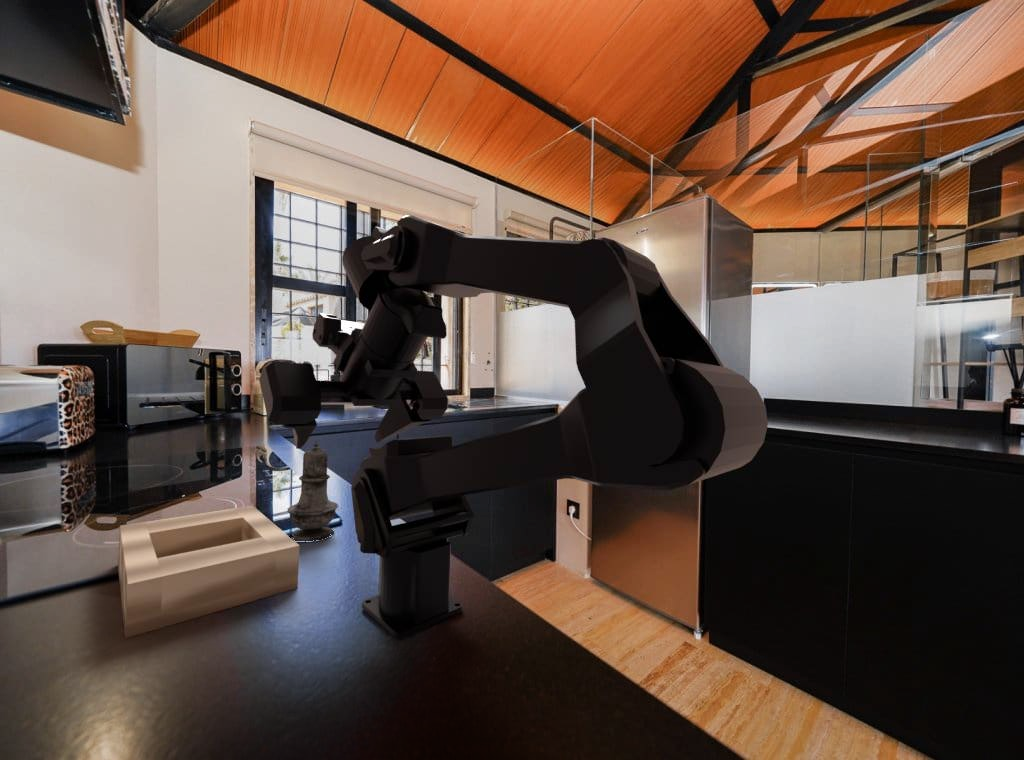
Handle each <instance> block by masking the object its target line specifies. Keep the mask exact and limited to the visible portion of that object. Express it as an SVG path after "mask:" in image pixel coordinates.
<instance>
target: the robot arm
mask: <svg viewBox="0 0 1024 760" xmlns="http://www.w3.org/2000/svg"><path fill="white" fill-rule="evenodd" d="M396 223H397V225H395V226H392V227H391V228H389V229H385V228H383V227H379V226H375V227H374V228H373V231H372V233H371V235H366V236H362V237H359V238H357V239H355V240H354V241H352V242H351V243H350V244H349V245H348V246H347V247H345V248H344V250H343V252H342V257H341V258H342V259H341V260H342V261H341V263H342V266H343V269H344V272H345V273H346V276H347V277H348V280H349V281H350V284H351V286H352V289H353V291H354V293H355V295H356V297H357V299H358V301H359V304H360V305H361V306H362V307H364V308H365V309H367V310H369V311H370V312H369V314H368V315H367V319H366V320H365V322H358V321H351V320H345V319H340V318H338V316H337V315H335V314H329V313H322V312H319V314H318V315H317V318H316V320H315V323H314V325H313V330H312V339H313V341H314V342H315V343H316V345H317V346H318V347H320V348H327V349H328V350H331V351H332V352H333V353H334V355H335V358H334V361H333V362H332V364H333V366H334V369H335V371H336V372H340V373H341V375H340V377H339V380H317V378H316V375H315V373H314V369H313V365H312V364H311V363H302V362H301V363H299V362H284V361H268V363H266V364H265V365H264V366H263V367H262V369H261V372H260V375H259V379H258V381H259V385H260V389H261V394H262V399H263V404H264V407H265V411H266V412H265V413H266V417H267V420H268V421H269V422H270V423H273V424H274V425H281V426H282V427H283V428H285V429H292V433H293V439H294V440H293V441H294V446H295V448H296V450H300V449H302V448H303V447H304V446H305V444H306V443H307V442H308V440H309V439H310V437H311V436H312V434H313V433H314V430H315V429H316V428H317V426H318V424H317V419H318V418H319V416H320V413H321V411H322V406H323V405H324V406H326V405H328V406H329V405H333V406H335V405H337V406H339V405H346V406H347V405H352V406H353V407H388V408H387V410H386V412H385V413H384V415H383V417H382V420H381V421H380V423H379V425H378V426H377V429H376V431H375V434H374V439H375V442H376V443H377V444H379V443H380V444H381V443H383V442H384V441H387V440H389V439H391V438H393V437H396V436H397V435H399V434H401V433H404V432H406V431H409V430H410V429H412V428H415V427H418V426H420V425H422V424H423V425H424V424H427V423H430V422H431V421H432V420H441V419H442V417H443V416H444V415H445V413H446V412H447V410H448V408H449V404H450V403H449V400H450V399H449V397H448V396H447V394H446V392H445V389H444V388H443V386H442V384H441V382H440V381H439V379H438V377H437V376H436V375H437V374H436V373H435V371H431V370H430V371H429V370H418V369H417V366H416V364H415V361H416V359H417V357H418V355H419V353H420V351H421V350H422V348H423V346H424V344H425V343H426V341H427V339H428V338H434V339H442V340H444V339H446V337H447V324H446V323H445V321H444V317H443V308H442V307H441V306H436V305H435V304H434V302H433V300H432V299H431V296H429V294H427V293H430V294H434V295H439V296H443V297H449V298H453V299H461V298H476V297H478V296H479V295H480V294H489V293H492V294H498V295H502V296H508V297H512V298H518V299H522V300H527V301H533V302H537V303H538V302H539V303H542V304H548V305H553V306H558V307H564V308H568V309H569V311H570V313H571V316H572V317H573V321H574V338H575V339H574V341H575V365H576V367H577V370H578V374H579V375H580V377H581V379H582V382H583V383H584V388H583V389H581V390H579V391H578V392H577V394H575V396H574V397H572V399H571V400H570V401H569V402H568V403H567V404H566V405H565V406H564V407H563V409H561V411H560V412H558V413H556V414H554V415H552V416H549V417H545V418H541V419H538V420H536V421H532V422H529V423H525V424H522V425H520V426H519V425H518V426H516V427H513V428H510V429H506V430H503V431H502V430H501V431H499V432H496V433H493V434H490V435H486V436H483V437H478V438H475V439H473V440H470V441H469V440H468V441H466V442H463V443H460V444H456V445H453V436H452V435H440V436H425V437H424V436H423V437H411V438H397V439H393V440H392V439H391V440H390V441H388V442H386V443H384V444H383V445H382V446H381V445H380V446H379V445H378V446H370V447H369V449H368V451H369V453H370V455H367V456H366V457H364V459H363V460H362V461H361V462H360V464H359V470H357V471H356V472H355V473H354V476H353V479H352V484H351V486H350V491H351V499H352V501H351V502H352V508H353V518H354V526H355V527H354V528H355V534H356V538H357V539H356V540H357V543H359V545H360V546H359V551H360V552H361V553H363V554H372V555H375V554H376V555H377V556H379V569H378V572H379V573H378V595H375V596H372V597H368V598H366V599H363V600H362V601H361V608H362V609H363V611H365V612H366V613H367V614H368V615H369V616H370V617H372V618H373V619H374V620H375V621H376V622H377V623H378V624H380V625H381V626H382V628H384V629H385V630H386V631H387V632H388V633H389V634H390V635H392V636H393V637H395V638H396V639H402V638H404V637H407V636H409V635H412V634H414V633H416V632H419V631H420V630H423V629H426V628H428V627H429V626H432V625H434V624H437V623H439V622H441V621H443V620H445V619H448V618H450V617H452V616H455V615H457V614H458V613H461V612H463V610H464V603H463V602H462V601H460V600H458V599H457V598H456V597H453V596H452V595H450V584H451V583H450V581H451V556H452V555H451V552H452V548H451V547H452V543H451V542H450V541H449V540H450V539H453V538H456V537H458V536H466V535H469V534H470V532H471V527H472V524H473V521H474V512H473V510H472V507H471V506H470V503H469V502H468V499H467V497H466V495H472V494H480V493H483V492H491V491H496V490H497V491H498V490H503V489H508V488H516V487H521V486H528V485H533V484H538V483H545V482H546V483H547V482H551V481H558V480H564V479H565V480H567V479H569V480H577V481H581V482H584V483H588V484H592V485H595V486H599V487H605V488H606V487H609V488H619V489H621V488H622V489H632V490H633V489H635V490H649V491H657V492H658V491H659V492H660V491H671V490H674V489H675V490H676V489H678V488H681V487H682V488H683V487H685V486H688V485H689V486H690V485H691V484H695V483H697V482H700V481H704V480H706V479H710V478H713V477H716V476H719V475H721V474H725V473H727V472H731V471H733V470H737V469H739V468H742V467H743V466H745V465H747V464H748V463H750V462H751V461H752V460H753V459H754V458H755V456H756V455H757V454H758V451H759V450H760V448H762V446H763V444H764V442H765V438H766V434H767V430H768V426H769V421H768V415H767V408H766V407H767V406H766V404H765V402H764V400H763V398H762V397H761V395H760V393H759V391H758V390H759V389H758V388H757V387H755V386H754V385H753V384H752V382H750V381H749V380H748V378H746V377H745V376H744V375H743V374H740V373H738V372H736V371H734V370H732V369H729V368H728V367H725V366H724V364H723V363H722V361H721V359H720V358H719V356H718V354H717V353H716V351H715V349H714V348H713V345H711V343H710V342H709V340H708V339H707V337H706V336H705V335H704V334H703V333H702V331H701V330H700V329H699V328H698V326H697V325H696V324H695V322H694V321H693V320H692V319H691V317H690V316H689V315H688V314H687V313H686V311H685V310H684V308H683V307H682V306H681V305H680V304H679V302H678V301H677V300H676V299H675V297H674V296H673V295H672V293H671V291H670V290H669V288H668V286H667V284H666V282H665V281H664V279H663V277H662V275H660V274H661V273H660V272H659V270H658V268H657V266H656V264H655V262H653V261H652V260H651V259H650V258H649V257H647V256H646V255H644V254H642V253H640V252H638V251H636V250H634V249H632V248H630V247H628V246H626V245H624V244H623V243H621V242H619V241H617V240H614V239H611V238H609V237H608V238H607V237H596V238H595V237H594V238H590V239H585V240H569V239H568V240H566V239H565V240H564V239H551V238H549V239H544V238H527V237H526V238H525V237H508V236H507V237H506V236H491V235H489V236H488V235H487V236H486V235H472V234H471V235H470V234H469V235H468V234H465V233H463V232H460V231H457V230H454V229H452V228H449V227H447V226H446V227H445V226H443V225H440V224H437V223H435V222H432V221H429V220H426V219H424V218H421V217H418V216H415V215H412V214H407V215H404V216H403V217H401V218H400V219H398V221H397V222H396ZM432 512H433V516H428V517H424V518H421V519H416V520H413V521H412V520H411V521H407V522H403V523H399V524H394V525H393V524H392V522H391V521H395V520H399V519H402V518H407V517H413V516H417V515H422V514H427V513H432Z"/></svg>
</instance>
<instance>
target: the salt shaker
mask: <svg viewBox="0 0 1024 760" xmlns="http://www.w3.org/2000/svg"><path fill="white" fill-rule="evenodd" d="M312 445H313V447H311V448H310V449H307V450H306V451H305V452H304V453H303V457H302V475H301V476H299V477H298V480H299V481H301V486H300V488H301V489H300V495H299V499H298V502H297V503H295V504H292V505H290V506H288V508H287V513H289V519H290V521H291V523H292V525H294V526H295V527H296V528H297V529H296V530H295V531H293V532H292V533H293V534H292V536H293V538H294V539H293V538H291V539H293V540H295V541H305V542H306V541H313V540H314V541H316V540H322V539H325V538H327V537H329V536H331V535H333V534H334V532H335V530H334V529H333V528H330V527H329V526H328V525H329V524H330V523H331V522H332V521H333V519H334V517H335V515H336V510H337V509H338V508H339V504H338V503H337V502H334V501H331V500H330V499H329V498H328V491H327V490H328V480H329V479H330V478H331V476H330V475H329V474H328V457H329V455H328V452H327V451H326V450H325V449H323V448H321V447H319V445H320V444H319V441H317V440H315V441H314V442H313V443H312ZM324 526H327V527H324ZM299 529H300V530H299ZM332 529H333V530H334V531H333V530H332ZM330 534H331V535H330ZM334 535H335V534H334ZM334 535H333V536H334ZM325 540H326V539H325ZM322 541H323V540H322Z"/></svg>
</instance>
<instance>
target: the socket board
mask: <svg viewBox="0 0 1024 760" xmlns="http://www.w3.org/2000/svg"><path fill="white" fill-rule="evenodd" d="M118 534H119V535H118V555H117V556H118V557H117V569H118V579H119V590H120V591H119V592H120V598H121V599H120V600H121V601H120V602H121V607H122V608H121V611H122V621H123V628H124V630H123V631H124V639H128V638H131V637H135V636H137V635H143V634H145V633H148V632H152V631H155V630H159V629H162V628H166V627H168V626H172V625H175V624H176V625H177V624H179V623H182V622H186V621H190V620H193V619H196V618H201V617H202V616H206V615H210V614H213V613H217V612H220V611H223V610H227V609H230V608H234V607H237V606H241V605H244V604H248V603H251V602H255V601H259V600H261V599H264V598H268V597H272V596H275V595H279V594H282V593H285V592H290V591H291V590H296V589H298V588H299V568H300V567H299V565H300V545H299V544H298V543H297V542H295V541H294V540H293V539H291V538H290V537H289V536H290V535H288V534H287V533H286V532H284V531H283V530H282V529H281V528H280V527H278V526H277V525H276V524H275V523H274V522H272V521H271V519H269V518H268V517H267V516H265V515H264V514H263V513H262V512H261V511H260V510H258V509H257V508H256V507H255V506H254V505H247V506H241V507H235V508H234V507H233V508H228V509H221V510H216V511H208V512H201V513H195V514H188V515H181V516H175V517H169V518H161V519H156V520H148V521H142V522H135V523H129V524H122V525H119V533H118Z"/></svg>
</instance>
